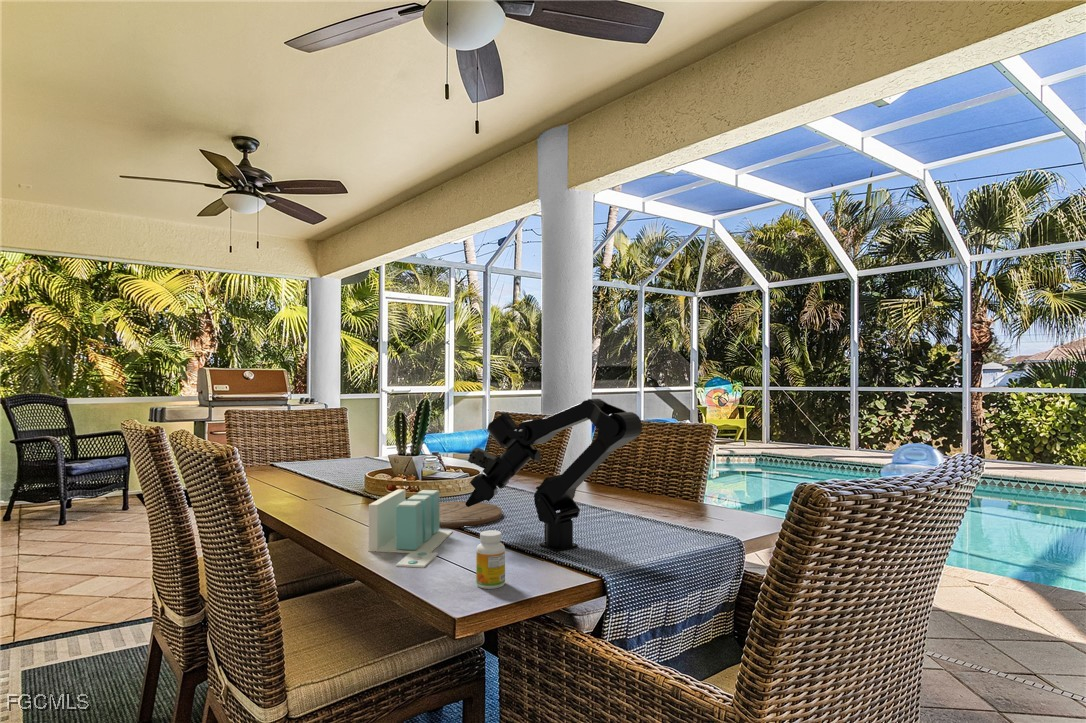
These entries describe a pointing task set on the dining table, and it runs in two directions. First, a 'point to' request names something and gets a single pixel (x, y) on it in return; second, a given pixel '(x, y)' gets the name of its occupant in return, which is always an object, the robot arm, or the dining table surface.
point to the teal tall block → (409, 525)
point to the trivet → (467, 514)
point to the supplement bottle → (490, 560)
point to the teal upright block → (424, 514)
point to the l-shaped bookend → (394, 526)
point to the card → (417, 559)
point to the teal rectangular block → (433, 508)
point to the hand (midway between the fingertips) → (466, 505)
